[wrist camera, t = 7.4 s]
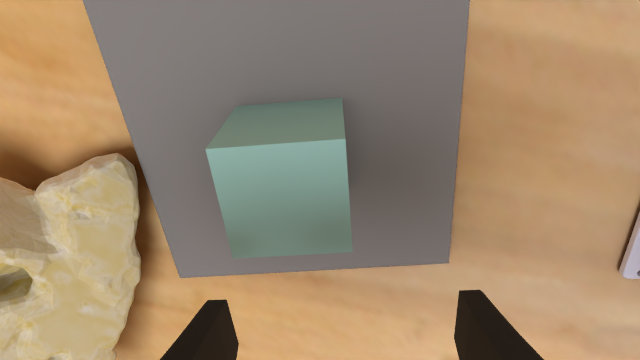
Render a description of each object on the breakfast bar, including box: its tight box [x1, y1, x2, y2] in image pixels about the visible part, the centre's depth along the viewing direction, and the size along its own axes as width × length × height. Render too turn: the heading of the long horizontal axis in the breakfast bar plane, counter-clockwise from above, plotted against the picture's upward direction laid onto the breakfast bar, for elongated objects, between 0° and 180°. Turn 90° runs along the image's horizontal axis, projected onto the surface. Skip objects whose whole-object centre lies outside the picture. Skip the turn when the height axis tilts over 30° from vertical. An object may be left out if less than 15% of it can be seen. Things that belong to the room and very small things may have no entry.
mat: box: [83, 0, 470, 278], centre depth 19 cm, size 16×16×1 cm
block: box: [206, 98, 353, 259], centre depth 17 cm, size 5×5×5 cm
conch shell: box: [0, 153, 141, 360], centre depth 21 cm, size 15×7×15 cm
